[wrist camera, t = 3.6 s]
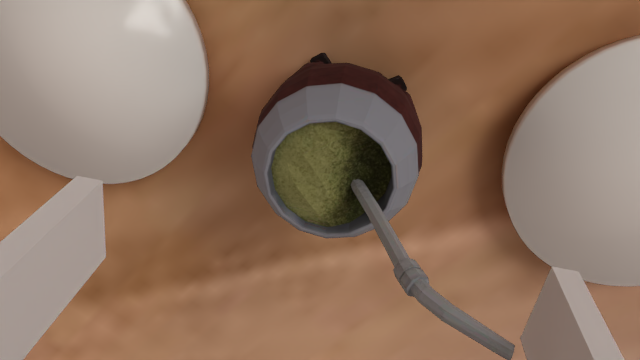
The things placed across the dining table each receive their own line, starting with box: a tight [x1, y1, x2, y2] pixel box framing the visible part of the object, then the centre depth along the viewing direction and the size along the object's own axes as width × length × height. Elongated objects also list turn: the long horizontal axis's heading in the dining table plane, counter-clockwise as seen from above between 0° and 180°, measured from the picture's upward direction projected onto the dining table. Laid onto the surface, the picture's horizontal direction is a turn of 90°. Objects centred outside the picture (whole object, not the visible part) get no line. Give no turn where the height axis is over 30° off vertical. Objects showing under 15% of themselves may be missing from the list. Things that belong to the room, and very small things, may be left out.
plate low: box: [0, 0, 209, 184], centre depth 27 cm, size 13×13×2 cm
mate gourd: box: [251, 53, 515, 360], centre depth 20 cm, size 8×8×15 cm
